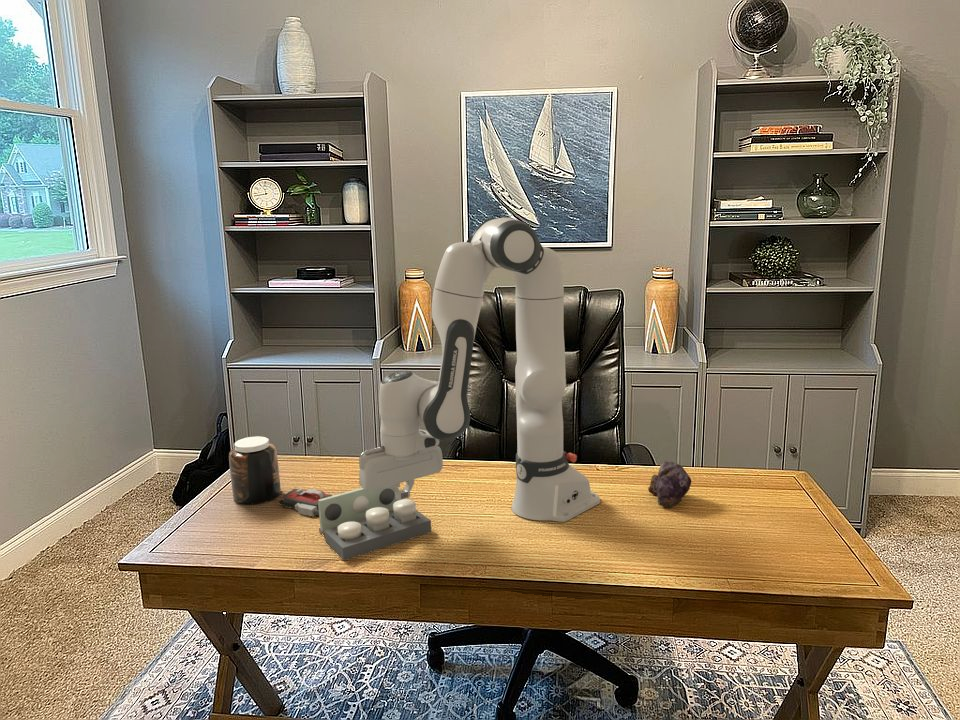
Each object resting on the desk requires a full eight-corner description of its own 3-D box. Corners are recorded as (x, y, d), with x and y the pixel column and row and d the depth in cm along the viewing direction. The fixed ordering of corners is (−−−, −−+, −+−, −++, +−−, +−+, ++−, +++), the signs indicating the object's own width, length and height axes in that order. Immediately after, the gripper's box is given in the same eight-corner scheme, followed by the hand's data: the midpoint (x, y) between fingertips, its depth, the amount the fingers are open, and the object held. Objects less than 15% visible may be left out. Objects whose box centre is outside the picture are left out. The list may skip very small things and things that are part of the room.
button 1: (356, 537, 173) (355, 519, 172) (366, 546, 169) (365, 527, 168) (335, 544, 170) (333, 525, 169) (344, 553, 166) (343, 534, 165)
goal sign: (395, 509, 188) (393, 477, 185) (400, 513, 185) (398, 481, 183) (319, 531, 177) (316, 498, 175) (324, 536, 174) (321, 502, 172)
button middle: (383, 523, 176) (382, 505, 175) (393, 531, 172) (392, 513, 171) (363, 529, 174) (361, 511, 172) (373, 537, 169) (372, 519, 168)
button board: (410, 516, 183) (409, 505, 183) (431, 532, 175) (430, 520, 174) (325, 543, 171) (324, 530, 171) (343, 560, 163) (342, 548, 163)
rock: (652, 512, 185) (694, 512, 184) (652, 483, 181) (695, 482, 180) (646, 486, 195) (686, 486, 194) (647, 457, 192) (687, 457, 191)
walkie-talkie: (272, 510, 190) (338, 524, 182) (271, 494, 189) (337, 507, 180) (295, 496, 197) (359, 509, 189) (293, 481, 196) (358, 492, 188)
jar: (255, 508, 190) (249, 452, 186) (224, 499, 196) (217, 445, 192) (289, 491, 200) (284, 438, 196) (258, 483, 206) (253, 431, 202)
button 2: (409, 514, 180) (408, 497, 179) (420, 522, 176) (419, 505, 175) (390, 520, 177) (389, 503, 176) (400, 529, 173) (399, 511, 172)
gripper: (364, 456, 164) (368, 514, 167) (445, 436, 175) (447, 492, 178) (352, 447, 169) (356, 505, 172) (431, 429, 180) (433, 483, 183)
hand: (403, 498), depth 175 cm, fingers closed
